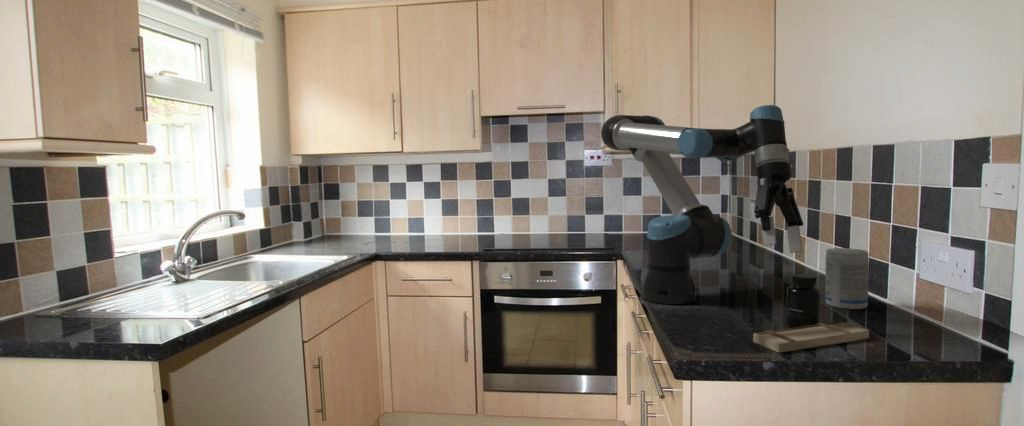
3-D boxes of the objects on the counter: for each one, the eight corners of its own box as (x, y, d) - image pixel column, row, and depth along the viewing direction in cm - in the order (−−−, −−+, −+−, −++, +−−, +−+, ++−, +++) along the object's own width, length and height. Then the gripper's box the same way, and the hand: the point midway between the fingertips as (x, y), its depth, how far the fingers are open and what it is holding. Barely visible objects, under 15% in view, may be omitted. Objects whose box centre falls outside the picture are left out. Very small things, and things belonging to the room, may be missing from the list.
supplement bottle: (788, 329, 119) (789, 277, 117) (783, 321, 125) (784, 272, 124) (822, 332, 116) (823, 279, 115) (816, 323, 123) (817, 273, 122)
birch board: (753, 341, 111) (753, 332, 111) (839, 329, 118) (839, 320, 118) (778, 352, 104) (779, 342, 104) (868, 338, 111) (869, 329, 111)
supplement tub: (874, 306, 136) (876, 250, 135) (857, 312, 131) (859, 254, 129) (834, 299, 144) (836, 246, 143) (817, 304, 139) (819, 250, 138)
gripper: (763, 148, 120) (774, 238, 114) (810, 172, 135) (822, 252, 129) (732, 157, 125) (741, 244, 120) (780, 179, 140) (791, 256, 135)
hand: (783, 248), depth 125 cm, fingers open, 13 cm apart
